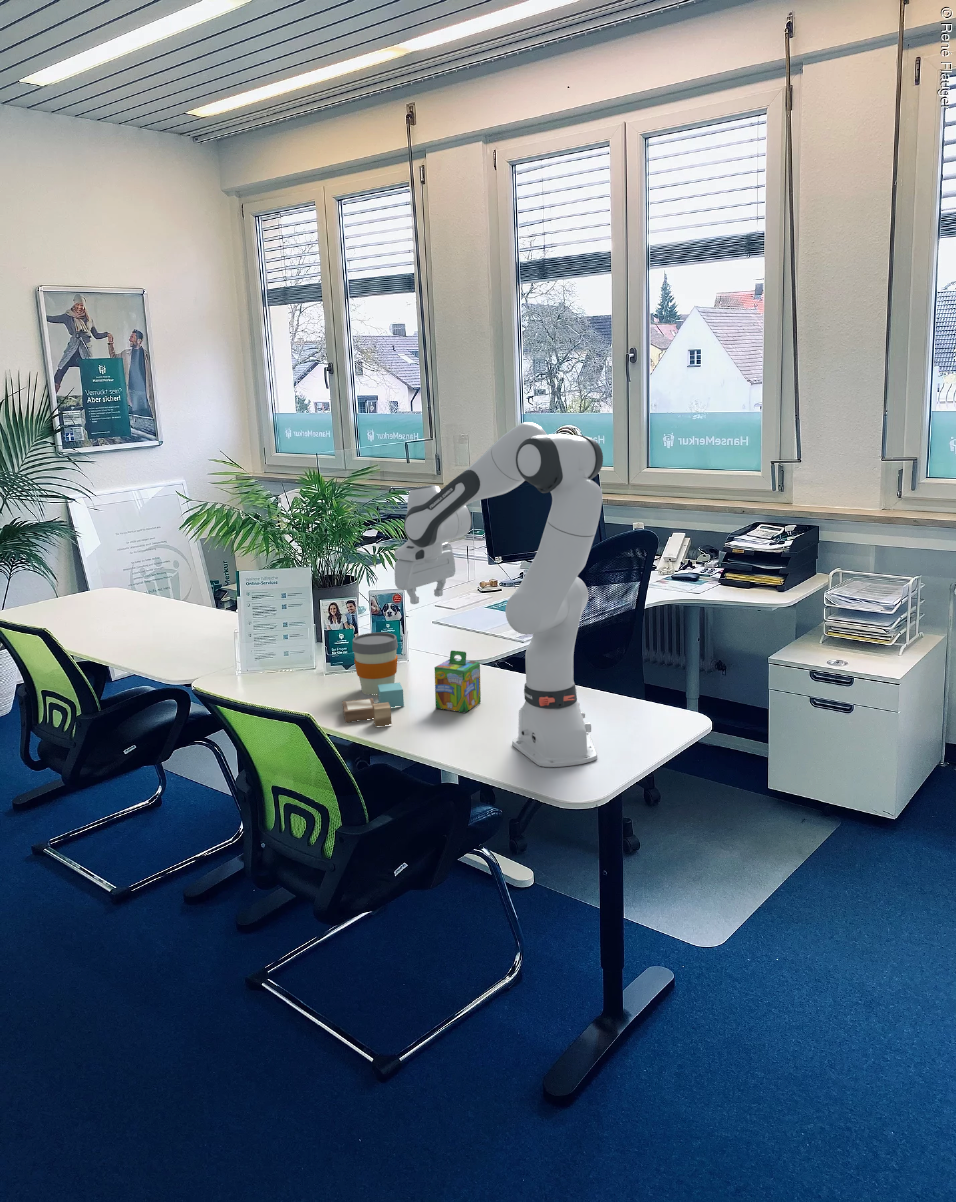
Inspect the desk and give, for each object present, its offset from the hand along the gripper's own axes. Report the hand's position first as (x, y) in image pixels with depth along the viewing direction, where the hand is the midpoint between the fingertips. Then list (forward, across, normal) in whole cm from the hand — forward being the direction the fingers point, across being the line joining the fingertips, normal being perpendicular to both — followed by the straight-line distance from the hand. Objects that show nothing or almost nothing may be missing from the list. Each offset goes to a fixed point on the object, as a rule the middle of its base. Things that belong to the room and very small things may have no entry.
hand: (426, 599), depth 250 cm
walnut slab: (+28, +18, -8) cm, 35 cm away
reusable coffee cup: (+29, +1, -18) cm, 34 cm away
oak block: (+28, +20, +1) cm, 34 cm away
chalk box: (+28, -1, +9) cm, 30 cm away
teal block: (+28, +8, -7) cm, 30 cm away
